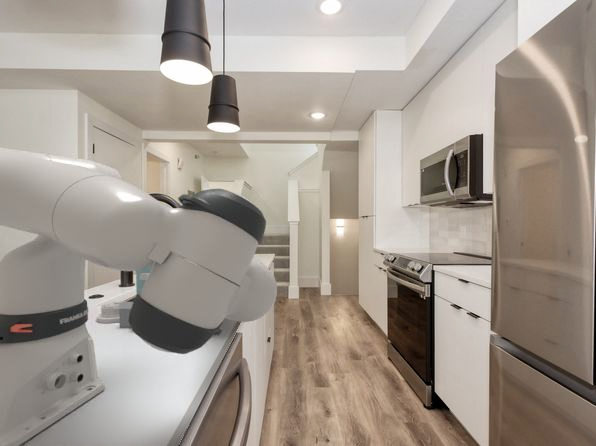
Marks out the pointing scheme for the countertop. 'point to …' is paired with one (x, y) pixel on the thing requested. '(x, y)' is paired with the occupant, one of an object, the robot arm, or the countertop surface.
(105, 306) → the mechanical component
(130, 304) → the motor
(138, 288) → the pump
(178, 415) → the countertop surface
